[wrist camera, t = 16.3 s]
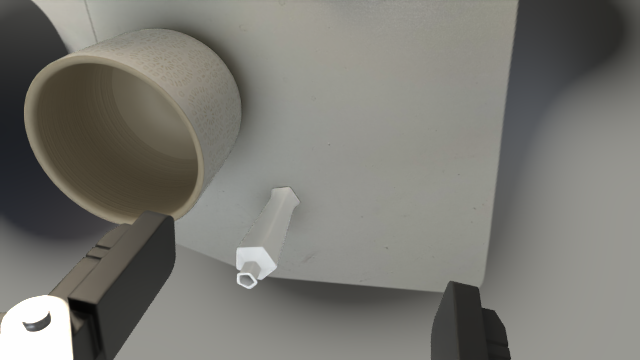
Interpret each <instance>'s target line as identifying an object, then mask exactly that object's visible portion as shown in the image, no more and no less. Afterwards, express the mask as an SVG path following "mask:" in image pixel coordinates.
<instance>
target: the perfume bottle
mask: <svg viewBox="0 0 640 360" xmlns="http://www.w3.org/2000/svg"><path fill="white" fill-rule="evenodd" d="M299 203H300V201H299V200H298V198H297V197H296V195H295V194H294V192H293V191H292V189H291V188H290V187H284V188H273V189H272V190H271V198H270V200H269V201H268V203H267V204H266V206H265V207H264V209H263V210H262V212H261V213H260V215H259V216H258V218H257V219H256V221H255V222H254V224H253V225H252V227H251V228H250V230H249V231H248V233H247V234H246V236H245V237H244V239H243V240H242V242H241V243H240V245H239V246H238V248H237V252H236V268H237V269H238V270H240V273H238V274H237V283H238V284H239V285H242V286H244V287H246V288H248V289H250V288H252V287H253V286H254V285H256V284H257V279H260V280H261V279H263V278H264V277H266V276H267V275H268V274H270V273H271V272H272V271H273V270H275V269H276V268H277V265H278V261H279V258H280V254H281V251H282V247H283V244H284V241H285V237H286V234H287V230H288V227H289V223H290V220H291V216H292V213H293V209H294V208H295V207H296V206H297V205H298V204H299Z"/></svg>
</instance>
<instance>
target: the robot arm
mask: <svg viewBox="0 0 640 360" xmlns="http://www.w3.org/2000/svg"><path fill="white" fill-rule="evenodd" d="M175 255H176V253H175V229H174V218H173V217H172V216H171V215H167V214H162V213H158V212H154V211H149V210H146V211H144V212H143V213H142V214H141V215H140V216H139V217H138V218H137V219H136V221H135V222H134V223H133V224H132V225H131V224H126V223H123V224H122V225H120V226H118V227H116V228H114V229H112V230H111V231H109V232H107V233H106V234H105V235H104V236H103V237H102V239H101V240H100V241H99V242H98V243H97V244H96V246H95V247H93V248H92V249H91V250H90V251H89V252H88V253H87V254H86V257H83V258H82V260H81V261H80V262H79V263H78V264H77V265H76V266H75V267H74V268H73V269H72V270H71V271H70V272H69V273H68V274H67V275H66V276H65V277H64V279H63V280H62V281H61V282H60V283H59V284H58V285H57V286H56V287H55V288H54V289H53V290H52V291H51V292H50V293H49V294H48V295H47V296H38V297H34V298H30V299H28V300H25V301H23V302H21V303H19V304H18V305H16V306H15V307H13V308H12V309H11V310H10V311H9V312H4V313H0V360H113V359H114V358H115V356H116V355H117V353H118V352H119V350H120V349H121V347H122V346H123V344H124V343H125V341H126V340H127V338H128V337H129V335H130V334H131V332H132V331H133V329H134V328H135V326H136V325H137V324H138V322H139V320H140V319H141V318H142V316H143V315H144V313H145V312H146V310H147V309H148V307H149V306H150V304H151V303H152V301H153V300H154V298H155V297H156V295H157V294H158V292H159V291H160V289H161V288H162V286H163V285H164V283H165V282H166V280H167V279H168V277H169V276H170V274H171V272H172V270H173V267H174V263H175V257H176V256H175ZM510 359H511V357H510V351H509V348H508V341H507V335H506V330H505V327H504V325H503V323H502V322H501V320H500V319H499V317H498V315H497V314H496V312H495V311H494V310H490V309H485V308H482V307H481V300H480V293H479V289H478V287H475V286H471V285H467V284H462V283H458V282H454V281H450V282H449V283H448V285H447V287H446V290H445V292H444V295H443V298H442V300H441V303H440V305H439V308H438V311H437V313H436V316H435V319H434V322H433V327H432V333H431V360H510Z"/></svg>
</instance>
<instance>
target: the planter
mask: <svg viewBox="0 0 640 360" xmlns="http://www.w3.org/2000/svg"><path fill="white" fill-rule="evenodd" d="M241 117H242V107H241V99H240V94H239V91H238V88H237V85H236V82H235V80H234V78H233V76H232V74H231V72H230V71H229V69H228V68H227V66H226V65H225V63H224V62H223V61H222V60H221V59H220V57H219V56H218V55H217V54H216V53H215V52H214V51H212V50H211V49H210V48H209V47H208V46H206V45H205V44H203V43H202V42H200V41H199V40H197V39H195V38H193V37H191V36H189V35H186V34H184V33H181V32H177V31H173V30H168V29H144V30H138V31H132V32H128V33H125V34H122V35H119V36H116V37H113V38H110V39H107V40H105V41H102V42H100V43H97V44H95V45H92V46H89V47H87V48H84V49H82V50H79V51H77V52H74V53H71V54H69V55H67V56H65V57H62V58H60V59H58V60H56V61H54V62H52V63H50V64H49V65H48V66H46V67H45V68H43V70H41V71H40V72H39V73H38V74H37V76H36V77H35V78H34V80H33V81H32V83H31V85H30V87H29V89H28V92H27V95H26V100H25V108H24V119H25V127H26V132H27V136H28V139H29V142H30V145H31V147H32V149H33V152H34V154H35V156H36V158H37V160H38V161H39V163H40V164H41V166H42V168H43V169H44V171H45V172H46V174H47V175H48V176H49V177H50V179H51V180H52V181H53V182H54V183H55V184H56V186H57V187H59V188H60V189H61V190H62V192H64V193H65V194H66V195H67V196H68V197H69V198H70V199H72V200H73V201H74V202H75V203H77V204H78V205H80V206H81V207H83V208H84V209H86V210H88V211H89V212H91V213H93V214H95V215H96V216H99V217H101V218H103V219H105V220H108V221H111V222H114V223H117V224H120V225H122V224H123V223H126V224H131V225H132V224H133V223H134V222H135V221H136V219H137V218H138V217H139V216H140V215H141V214H142V213H143V212H144V211H146V210H149V211H154V212H158V213H162V214H167V215H171V216H172V217H173V218H174V221H176V220H178V219H180V218H181V217H183V216H184V215H185V214H186V213H188V212H189V211H190V210H191V209H192V207H193V206H194V205H195V204H196V203H197V201H198V200H199V198H200V197H201V196H202V194H203V193H204V191H205V190H206V189H207V187H208V186H209V184H210V183H211V181H212V180H213V178H214V177H215V175H216V174H217V172H218V171H219V169H220V168H221V166H222V165H223V163H224V162H225V160H226V158H227V157H228V155H229V153H230V152H231V150H232V148H233V146H234V143H235V141H236V139H237V136H238V133H239V129H240V125H241Z"/></svg>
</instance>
